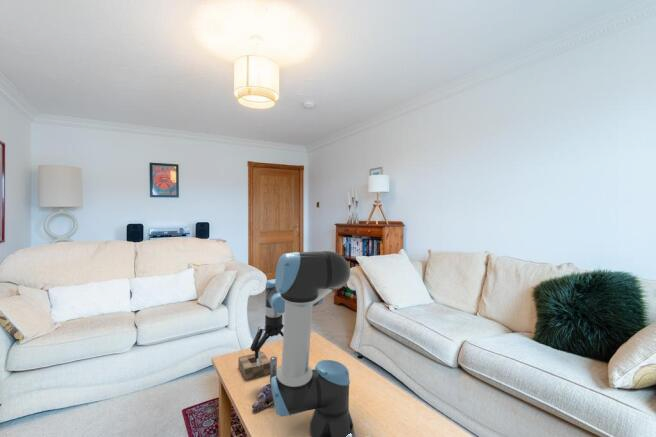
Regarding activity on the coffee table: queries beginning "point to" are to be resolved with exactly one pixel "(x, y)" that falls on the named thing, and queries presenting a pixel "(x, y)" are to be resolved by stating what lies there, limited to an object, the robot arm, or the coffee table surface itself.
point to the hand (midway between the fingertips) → (273, 361)
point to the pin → (273, 367)
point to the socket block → (253, 366)
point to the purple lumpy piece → (263, 398)
